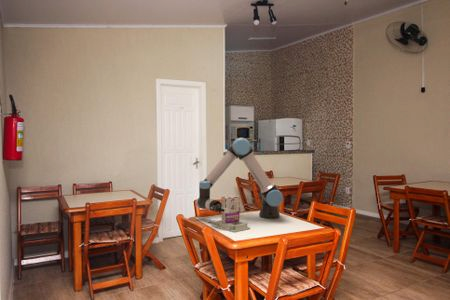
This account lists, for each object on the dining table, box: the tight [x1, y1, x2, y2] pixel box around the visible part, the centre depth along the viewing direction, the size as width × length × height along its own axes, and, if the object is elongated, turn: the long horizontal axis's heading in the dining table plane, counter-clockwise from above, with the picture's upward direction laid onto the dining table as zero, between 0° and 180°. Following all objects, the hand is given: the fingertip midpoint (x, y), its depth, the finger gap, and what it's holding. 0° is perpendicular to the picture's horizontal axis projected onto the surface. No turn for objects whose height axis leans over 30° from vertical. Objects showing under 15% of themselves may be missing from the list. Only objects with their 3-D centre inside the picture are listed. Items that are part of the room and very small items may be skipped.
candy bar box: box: [221, 195, 240, 224], centre depth 224 cm, size 11×5×16 cm, turn 126°
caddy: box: [212, 219, 251, 233], centre depth 224 cm, size 14×20×4 cm
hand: (235, 210), depth 221 cm, fingers closed on candy bar box, 11 cm apart
